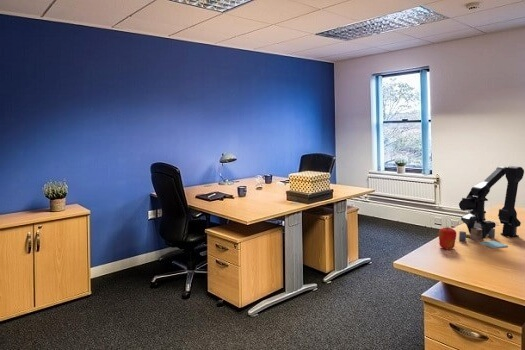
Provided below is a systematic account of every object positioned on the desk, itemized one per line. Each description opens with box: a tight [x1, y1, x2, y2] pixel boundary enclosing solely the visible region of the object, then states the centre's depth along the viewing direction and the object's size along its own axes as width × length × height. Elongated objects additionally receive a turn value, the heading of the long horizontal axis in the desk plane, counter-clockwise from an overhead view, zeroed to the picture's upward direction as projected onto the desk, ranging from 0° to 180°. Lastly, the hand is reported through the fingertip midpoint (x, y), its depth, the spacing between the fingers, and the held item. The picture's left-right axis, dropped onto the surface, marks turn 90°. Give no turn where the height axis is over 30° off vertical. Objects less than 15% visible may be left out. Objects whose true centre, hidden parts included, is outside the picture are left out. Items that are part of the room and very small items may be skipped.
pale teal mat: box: [478, 240, 508, 249], centre depth 198 cm, size 9×9×1 cm
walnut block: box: [469, 227, 485, 242], centre depth 209 cm, size 4×4×6 cm
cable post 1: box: [458, 230, 467, 243], centre depth 207 cm, size 3×3×5 cm
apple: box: [438, 226, 457, 250], centre depth 195 cm, size 9×8×12 cm
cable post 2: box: [487, 228, 496, 239], centre depth 211 cm, size 3×3×5 cm
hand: (477, 236), depth 209 cm, fingers open, 9 cm apart
